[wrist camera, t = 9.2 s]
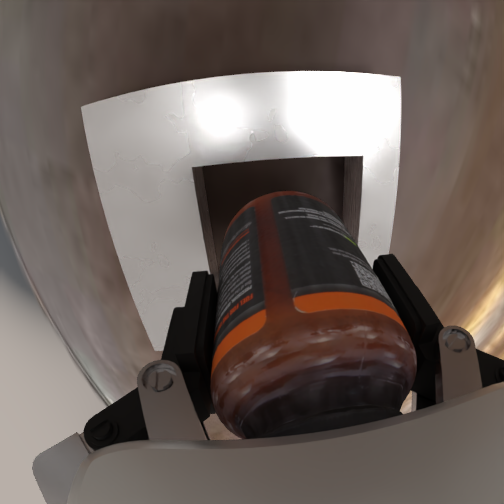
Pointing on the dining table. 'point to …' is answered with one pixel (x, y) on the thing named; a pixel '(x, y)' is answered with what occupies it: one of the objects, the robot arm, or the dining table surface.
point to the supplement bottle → (303, 325)
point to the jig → (230, 151)
